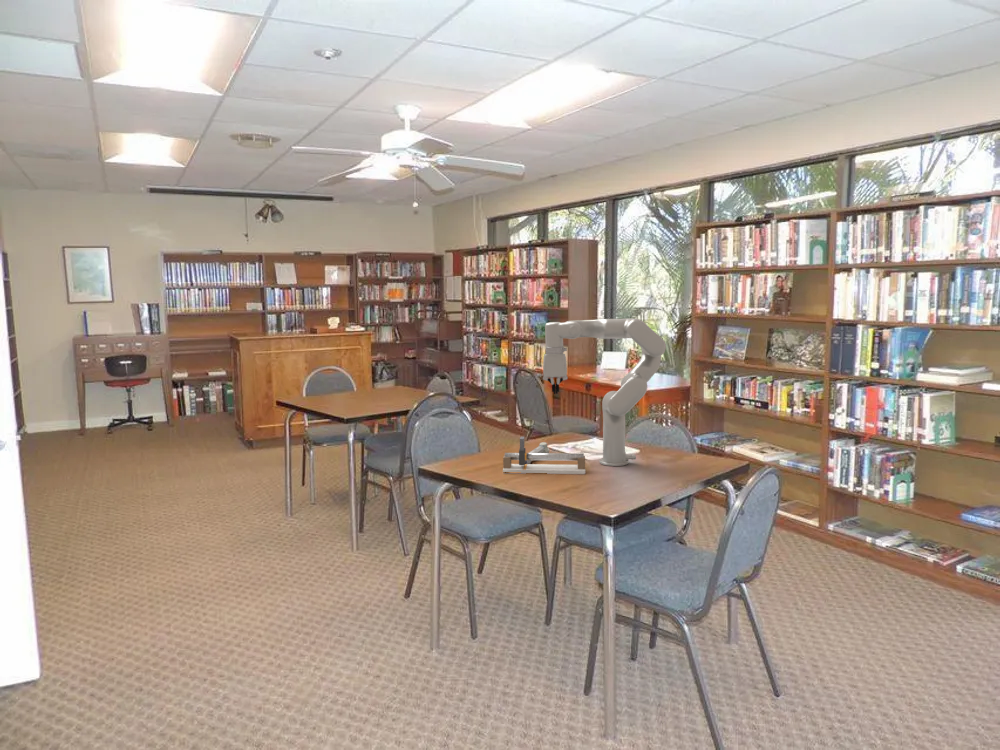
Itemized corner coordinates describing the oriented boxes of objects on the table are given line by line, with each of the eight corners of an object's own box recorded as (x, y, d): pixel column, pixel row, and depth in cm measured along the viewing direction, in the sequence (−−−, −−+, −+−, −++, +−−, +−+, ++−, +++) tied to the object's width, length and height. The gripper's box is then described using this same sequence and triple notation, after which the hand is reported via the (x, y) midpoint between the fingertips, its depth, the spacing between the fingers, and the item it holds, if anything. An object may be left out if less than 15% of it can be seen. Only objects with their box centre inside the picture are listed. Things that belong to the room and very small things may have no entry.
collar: (525, 461, 298) (525, 436, 297) (524, 465, 292) (524, 439, 291) (519, 461, 298) (519, 436, 297) (519, 465, 293) (518, 439, 291)
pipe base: (584, 468, 298) (584, 454, 298) (585, 474, 288) (585, 459, 288) (504, 467, 301) (504, 453, 301) (502, 473, 291) (502, 459, 291)
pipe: (583, 459, 294) (583, 452, 294) (583, 461, 291) (583, 454, 291) (505, 459, 297) (505, 451, 297) (504, 460, 294) (504, 453, 294)
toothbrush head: (517, 457, 304) (540, 438, 326) (518, 471, 306) (541, 452, 327) (528, 458, 302) (550, 439, 323) (528, 472, 304) (551, 453, 325)
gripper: (571, 349, 304) (572, 391, 306) (537, 350, 305) (538, 392, 307) (572, 351, 296) (573, 394, 298) (537, 352, 297) (538, 395, 299)
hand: (555, 393), depth 303 cm, fingers closed
